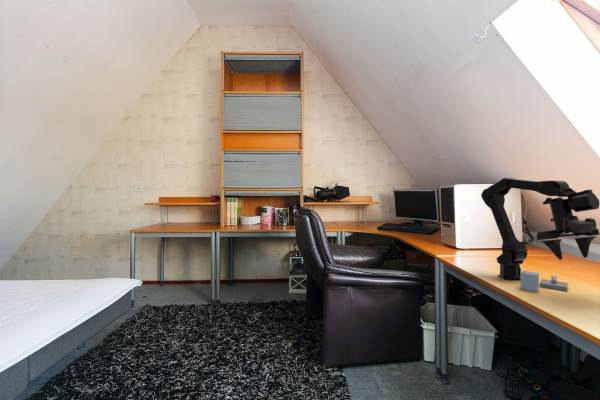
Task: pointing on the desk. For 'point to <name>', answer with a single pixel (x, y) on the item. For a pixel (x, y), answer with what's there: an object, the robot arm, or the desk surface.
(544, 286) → the base plate
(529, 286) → the pale blue cube
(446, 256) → the desk surface
